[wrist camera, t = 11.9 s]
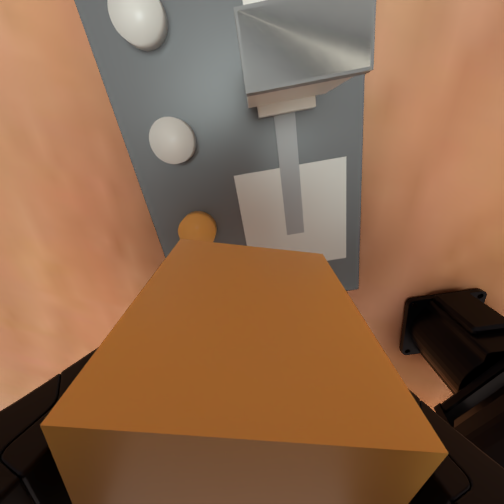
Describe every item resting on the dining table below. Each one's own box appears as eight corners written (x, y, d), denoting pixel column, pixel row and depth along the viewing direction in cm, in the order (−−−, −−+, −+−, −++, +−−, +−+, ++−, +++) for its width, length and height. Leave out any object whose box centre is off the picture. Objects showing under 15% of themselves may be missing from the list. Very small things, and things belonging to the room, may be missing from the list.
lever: (322, 106, 13) (372, 83, 8) (248, 120, 13) (248, 107, 8) (320, 37, 12) (377, -43, 7) (238, 54, 12) (230, -12, 7)
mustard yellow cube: (322, 253, 8) (449, 454, 3) (296, 356, 11) (342, 585, 5) (180, 238, 8) (40, 425, 3) (181, 346, 10) (102, 574, 5)
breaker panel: (350, 278, 20) (363, 296, 18) (189, 302, 21) (182, 322, 19) (355, -95, 11) (382, -153, 9) (77, -31, 12) (38, -70, 10)
